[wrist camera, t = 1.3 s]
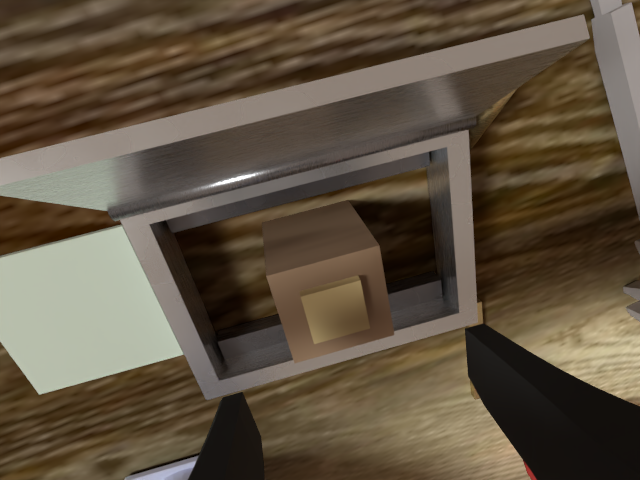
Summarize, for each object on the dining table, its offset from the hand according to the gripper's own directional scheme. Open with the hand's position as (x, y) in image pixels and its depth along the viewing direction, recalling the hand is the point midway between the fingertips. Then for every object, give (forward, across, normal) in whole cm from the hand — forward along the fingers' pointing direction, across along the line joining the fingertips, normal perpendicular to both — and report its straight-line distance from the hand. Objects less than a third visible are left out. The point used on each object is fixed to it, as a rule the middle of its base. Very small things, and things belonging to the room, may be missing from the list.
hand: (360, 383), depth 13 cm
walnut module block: (+10, 0, 0) cm, 10 cm away
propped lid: (+9, -1, -6) cm, 11 cm away
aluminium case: (+10, 0, 0) cm, 10 cm away
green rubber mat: (+10, +12, 0) cm, 16 cm away
